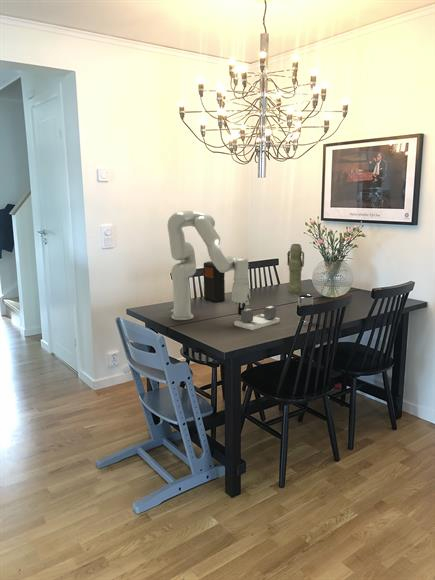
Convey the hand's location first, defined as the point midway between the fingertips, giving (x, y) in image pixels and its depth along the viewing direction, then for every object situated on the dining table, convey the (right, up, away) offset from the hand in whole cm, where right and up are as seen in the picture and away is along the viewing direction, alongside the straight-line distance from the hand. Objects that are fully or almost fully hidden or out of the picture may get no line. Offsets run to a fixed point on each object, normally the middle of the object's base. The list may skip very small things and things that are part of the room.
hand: (241, 314), depth 250 cm
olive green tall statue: (+41, +10, +71) cm, 82 cm away
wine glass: (+35, -5, +1) cm, 35 cm away
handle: (+16, -2, +3) cm, 16 cm away
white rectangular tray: (+9, -5, +1) cm, 10 cm away
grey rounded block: (+3, -3, -3) cm, 5 cm away
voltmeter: (-15, +6, +58) cm, 60 cm away
